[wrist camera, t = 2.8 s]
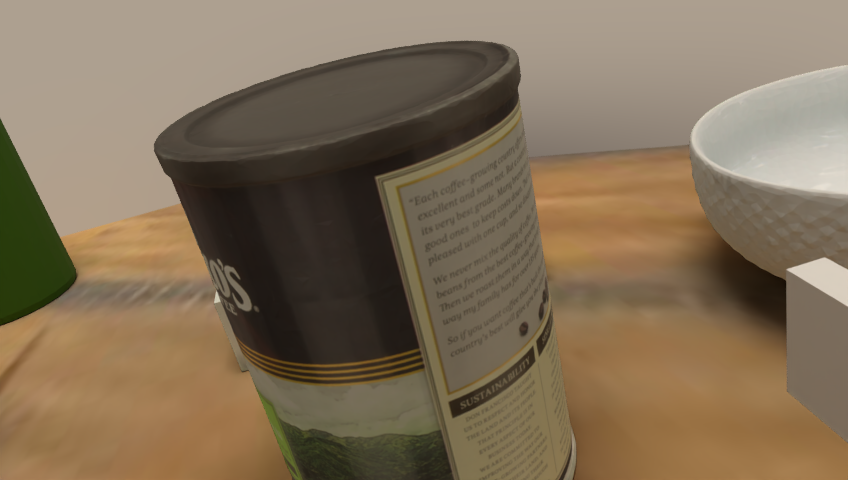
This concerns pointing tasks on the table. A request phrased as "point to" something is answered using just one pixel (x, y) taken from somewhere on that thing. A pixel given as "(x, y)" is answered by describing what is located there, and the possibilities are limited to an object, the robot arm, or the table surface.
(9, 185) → the wine bottle
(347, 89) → the coffee can
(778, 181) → the cereal bowl
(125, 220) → the table surface
